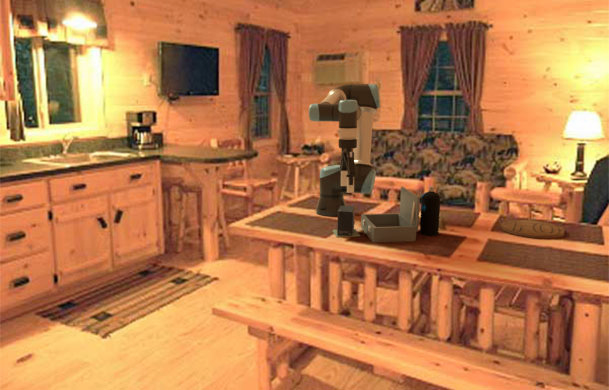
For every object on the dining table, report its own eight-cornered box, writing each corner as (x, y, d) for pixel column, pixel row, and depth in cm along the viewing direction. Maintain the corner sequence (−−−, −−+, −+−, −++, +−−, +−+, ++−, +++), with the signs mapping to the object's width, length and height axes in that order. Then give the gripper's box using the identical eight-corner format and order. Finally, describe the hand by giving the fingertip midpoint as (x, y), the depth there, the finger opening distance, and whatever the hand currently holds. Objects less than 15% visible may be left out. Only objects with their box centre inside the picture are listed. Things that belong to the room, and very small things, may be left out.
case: (359, 227, 226) (360, 187, 222) (401, 226, 228) (402, 186, 224) (372, 242, 204) (373, 198, 201) (417, 240, 206) (419, 197, 203)
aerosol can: (439, 231, 220) (442, 185, 216) (438, 236, 212) (440, 189, 208) (420, 229, 222) (422, 184, 218) (418, 234, 215) (420, 187, 211)
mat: (332, 230, 221) (332, 229, 221) (355, 229, 223) (355, 228, 222) (336, 237, 212) (336, 236, 212) (360, 236, 213) (360, 235, 213)
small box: (352, 236, 212) (352, 211, 209) (336, 235, 213) (337, 210, 211) (354, 229, 222) (355, 205, 220) (339, 228, 223) (340, 205, 221)
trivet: (501, 236, 213) (501, 232, 213) (500, 222, 236) (501, 218, 236) (567, 242, 205) (568, 238, 204) (560, 226, 228) (561, 222, 227)
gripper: (333, 135, 221) (333, 183, 226) (344, 141, 197) (343, 195, 201) (350, 135, 222) (350, 183, 226) (363, 141, 198) (362, 195, 202)
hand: (347, 189), depth 214 cm, fingers open, 13 cm apart
